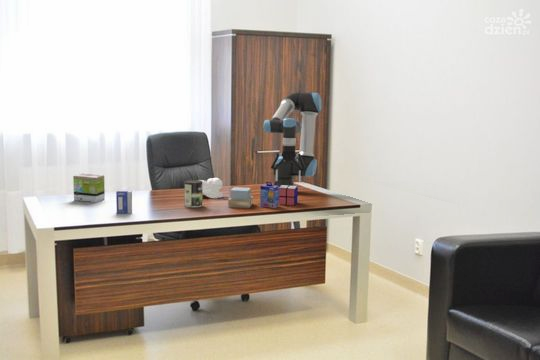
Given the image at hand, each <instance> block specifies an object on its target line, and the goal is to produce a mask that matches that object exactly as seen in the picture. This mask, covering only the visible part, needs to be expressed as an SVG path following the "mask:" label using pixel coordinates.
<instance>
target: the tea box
mask: <svg viewBox="0 0 540 360" xmlns="http://www.w3.org/2000/svg"><path fill="white" fill-rule="evenodd" d="M105 191H106V189H105V175H99V174H91V173H90V174H89V173H81V174H77V175H76V174H75V175H73V200H74V201H79V202H80V201H82V202H89V201H90V202H91V203H98V201H99V202H101V201H104V200H105V193H106V192H105ZM103 199H104V200H103ZM90 202H89V203H90Z"/></svg>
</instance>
